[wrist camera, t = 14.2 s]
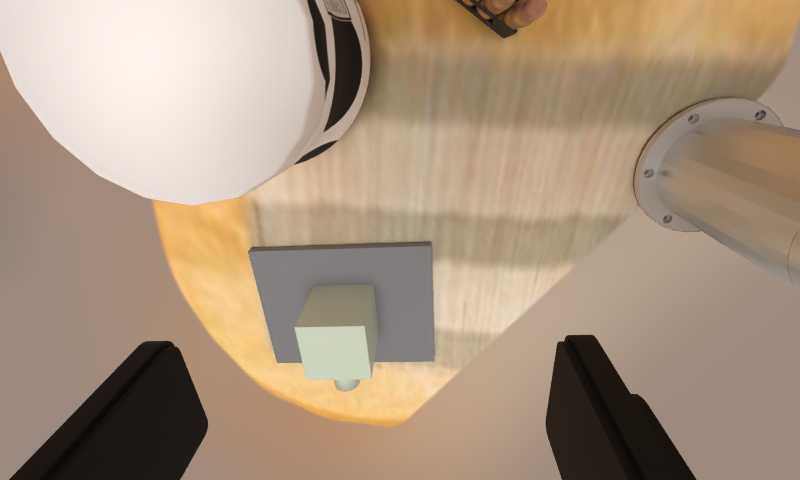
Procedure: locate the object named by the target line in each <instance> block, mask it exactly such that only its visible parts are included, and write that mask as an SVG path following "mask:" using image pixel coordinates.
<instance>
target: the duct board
mask: <svg viewBox="0 0 800 480" xmlns="http://www.w3.org/2000/svg"><path fill="white" fill-rule="evenodd" d="M248 253H249V257H250V261H251V265H252V269H253V273H254V276H255V280H256V284H257V288H258V292H259V295H260V299H261V303H262V307H263V311H264V315H265V318H266V322H267V326H268V330H269V334H270V338H271V341H272V345H273V349H274V353H275V357H276V361H277V363H302V358H301V354H300V349H299V345H298V341H297V336H296V332H295V328H294V327H295V325H296V323H297V321H298V319H299V317H300V314H301V312H302V310H303V308H304V306H305V304H306V302H307V299H308V297H309V295H310V293H311V291H312V289H313V287H314V286H320V285H356V284H373V285H374V294H375V304H376V313H377V322H378V331H379V333H378V340H377V346H376V353H375V359H374V362H422V361H434V327H433V292H432V256H431V242H411V243H379V244H348V245H317V246H286V247H255V248H251V249H250V250H249V251H248Z"/></svg>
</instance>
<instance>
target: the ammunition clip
mask: <svg viewBox="0 0 800 480" xmlns="http://www.w3.org/2000/svg"><path fill="white" fill-rule="evenodd" d="M456 1H457V2H458V3H460V4H461V5H462V6H463V7H465V8H466V9H467V10H468V11H470V12H471V13H472V14H473V15H475V16H476V17H477V18H479V19H480V20H481V21H482V22H484V23H485V24H486V25H487V26H489V27H490V28H491V29H492V30H494V31H495V32H496V33H498V34H499V35H500V36H501V37H503V38H506V37H509V36H511V35H513V34H515V33H516V32H517V31H518V30H517V29H518V28H522V27H525V26H527V25H529V24H531V23H532V22H533V21H534V20H535V19H537V18H539V17H540V16H541V15H542V14H543V13H544V12H545V10H546V7H547V3H546V1H545V0H456ZM515 29H516V30H515ZM513 30H514V31H513Z"/></svg>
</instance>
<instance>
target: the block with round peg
mask: <svg viewBox="0 0 800 480" xmlns="http://www.w3.org/2000/svg"><path fill="white" fill-rule="evenodd" d="M294 328H295V332H296V336H297V341H298V345H299V349H300V354H301V358H302V363H303V367H304V371H305V376H306V380H334V382H335V387H336V388H337V389H338V390H340V391H344V392H346V391H351V390H353V389H355V388H356V387H357V386H358V384H359V382H360V379H372V372H373V366H374V359H375V353H376V346H377V340H378V333H379V331H378V322H377V313H376V304H375V294H374V285H373V284H356V285H320V286H314V287H313V289H312V291H311V293H310V295H309V297H308V299H307V302H306V304H305V306H304V308H303V310H302V312H301V314H300V317H299V319H298V321H297V323H296V325H295V327H294Z"/></svg>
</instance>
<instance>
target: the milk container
mask: <svg viewBox="0 0 800 480" xmlns="http://www.w3.org/2000/svg"><path fill="white" fill-rule="evenodd" d="M0 52H1V54H2V56H3V59H4V61H5V63H6V66H7V68H8V70H9V73H10V75H11V78H12V80H13V82H14V85H15V87H16V88H17V90H18V91H19V93H20V94H21V95H22V97H23V98H24V99H25V101H26V102H27V103H28V105H29V106H30V107H31V109H32V110H33V111H34V113H35V114H36V115H37V117H38V118H39V119H40V121H41V122H42V123H43V125H44V126H45V128H46V129H47V130H48V132H49V133H50V134H51V136H52V137H53V138H54V139H55V140H57V141H58V142H59V143H60V144H61V145H63V146H64V147H65V148H66V149H67V150H68V151H70V152H71V153H72V154H73V155H74V156H76V157H77V158H78V159H79V160H80V161H82V162H83V163H84V164H85V165H87V166H88V167H89V168H90V169H91V170H92V171H94V172H95V173H96V174H97V175H99V176H101V177H103V178H105V179H107V180H109V181H112V182H113V183H115V184H118V185H120V186H122V187H124V188H126V189H128V190H130V191H132V192H134V193H137V194H138V195H141V196H143V197H145V198H150V199H156V200H162V201H168V202H174V203H180V204H186V205H197V204H203V203H209V202H214V201H220V200H225V199H231V198H236V197H240V196H243V195H245V194H247V193H249V192H251V191H253V190H255V189H256V188H258V187H259V186H261V185H262V184H264V183H266V182H267V181H269V180H270V179H272V178H273V177H275V176H277V175H278V174H280V173H282V172H284V171H285V170H287V169H288V168H289V167H291V166H292V165H294V164H298V163H301V162H304V161H307V160H309V159H311V158H313V157H315V156H317V155H319V154H321V153H322V152H324V151H325V150H327V149H328V148H330V147H331V146H332V145H333V144H335V143H336V142H337V141H338V140H339V139H340V138H341V137H342V136H343V135H344V133H345V132H346V131H347V130H348V128H349V127H350V126H351V124H352V123H353V121H354V120H355V118H356V116H357V114H358V112H359V110H360V108H361V106H362V103H363V100H364V97H365V94H366V90H367V86H368V81H369V75H370V44H369V37H368V31H367V27H366V23H365V19H364V16H363V13H362V10H361V8H360V5H359V3H358V0H0Z"/></svg>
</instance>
